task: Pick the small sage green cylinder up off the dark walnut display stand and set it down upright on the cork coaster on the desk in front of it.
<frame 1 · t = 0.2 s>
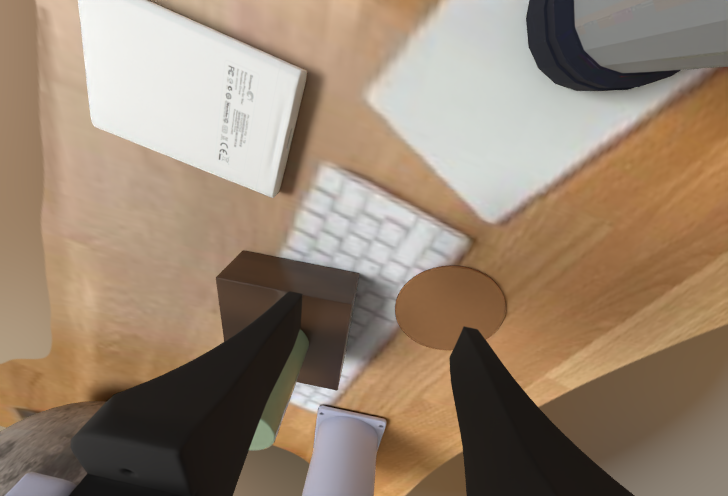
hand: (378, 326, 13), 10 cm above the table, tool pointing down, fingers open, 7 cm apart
stand: (298, 306, 26), on the table
hard drive: (204, 100, 19), on the table
sage green cylinder: (282, 339, 23), point 4 cm above the table, touching stand
moon model: (132, 413, 40), on the table
coaster: (448, 310, 24), on the table
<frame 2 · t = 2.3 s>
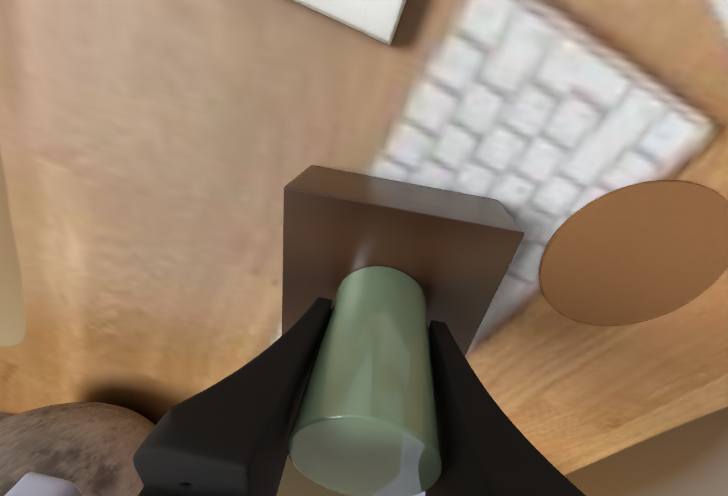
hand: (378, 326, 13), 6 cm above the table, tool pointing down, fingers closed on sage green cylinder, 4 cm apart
stand: (385, 260, 18), on the table
sage green cylinder: (380, 302, 14), point 4 cm above the table, touching gripper, stand
moon model: (134, 417, 31), on the table
coaster: (628, 261, 16), on the table
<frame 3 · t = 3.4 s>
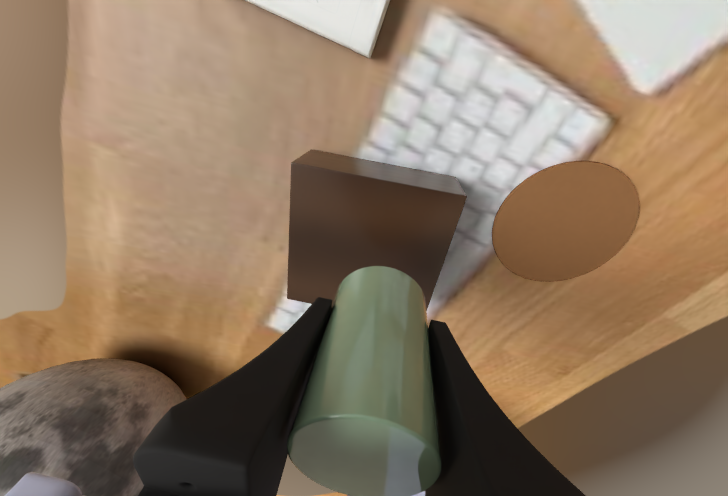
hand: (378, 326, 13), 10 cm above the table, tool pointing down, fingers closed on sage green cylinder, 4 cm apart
stand: (370, 228, 22), on the table
sage green cylinder: (379, 302, 14), point 9 cm above the table, touching gripper
moon model: (154, 377, 36), on the table
coaster: (560, 226, 20), on the table
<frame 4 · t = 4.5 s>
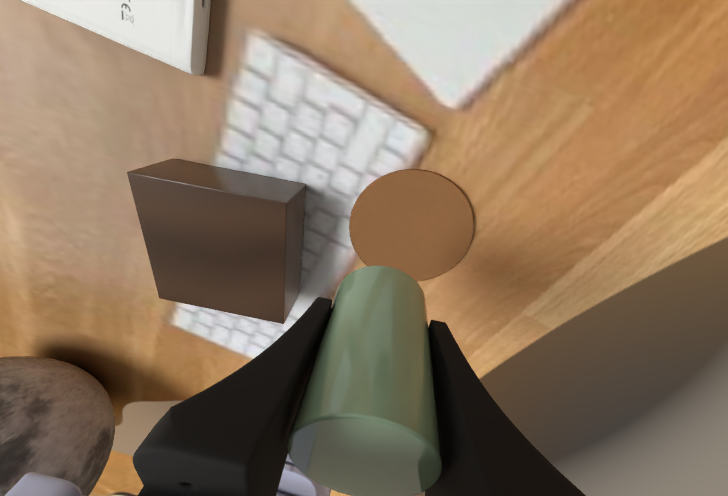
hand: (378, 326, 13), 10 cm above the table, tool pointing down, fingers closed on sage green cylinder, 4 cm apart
stand: (242, 232, 23), on the table
sage green cylinder: (380, 302, 14), point 9 cm above the table, touching gripper
moon model: (81, 375, 37), on the table
coaster: (409, 229, 21), on the table
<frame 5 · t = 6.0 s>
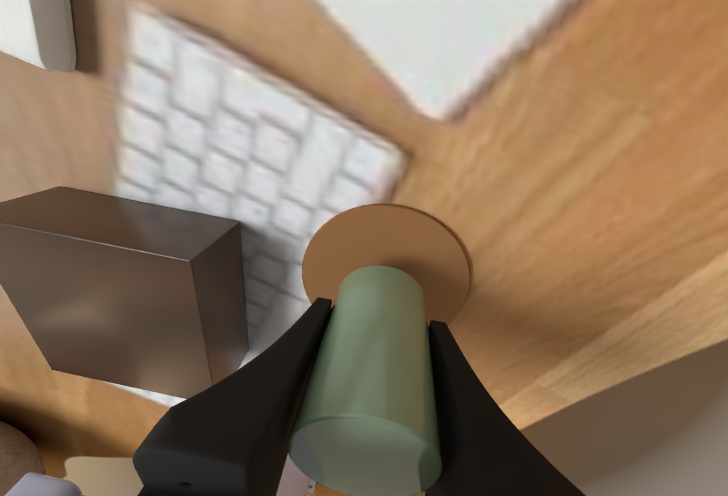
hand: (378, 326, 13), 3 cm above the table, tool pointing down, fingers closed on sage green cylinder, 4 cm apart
stand: (166, 279, 18), on the table
sage green cylinder: (380, 302, 14), point 2 cm above the table, touching gripper
moon model: (11, 427, 31), on the table
coaster: (383, 281, 16), on the table
when the fingers open (2 cm above the table, at t = 7.0 s): sage green cylinder stays where it is, resting on coaster.
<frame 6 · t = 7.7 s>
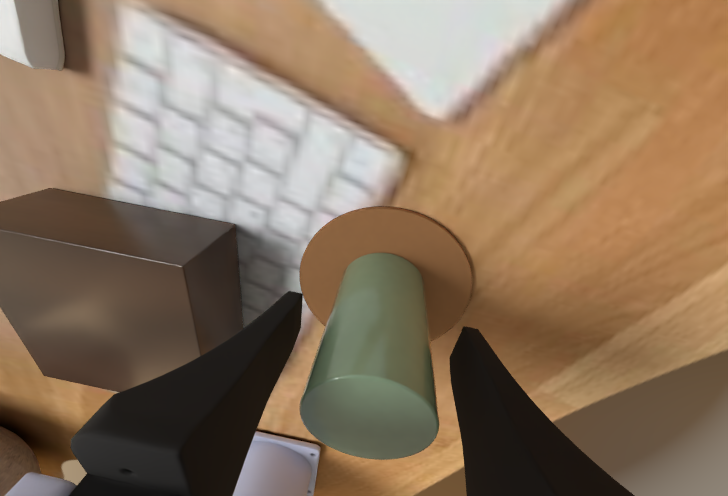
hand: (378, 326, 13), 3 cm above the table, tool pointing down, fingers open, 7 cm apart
stand: (161, 282, 17), on the table
sage green cylinder: (382, 288, 15), resting on coaster
moon model: (7, 430, 31), on the table
coaster: (383, 285, 15), on the table
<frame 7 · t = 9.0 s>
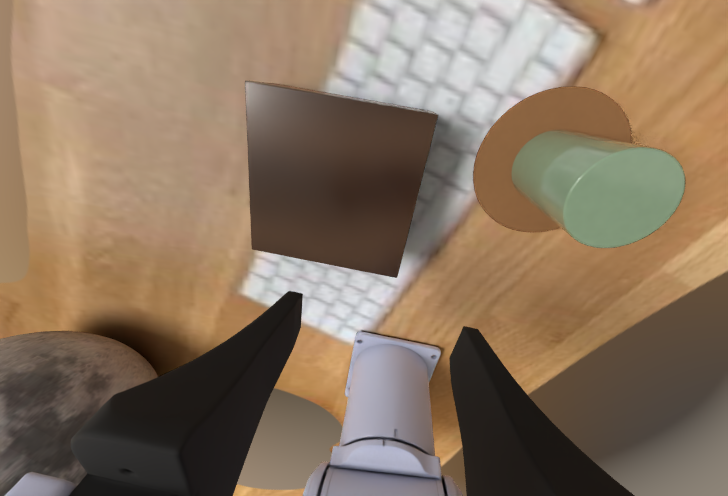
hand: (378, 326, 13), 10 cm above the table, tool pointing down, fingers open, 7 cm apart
stand: (343, 175, 20), on the table
sage green cylinder: (548, 166, 18), resting on coaster
moon model: (127, 357, 34), on the table
coaster: (546, 166, 18), on the table
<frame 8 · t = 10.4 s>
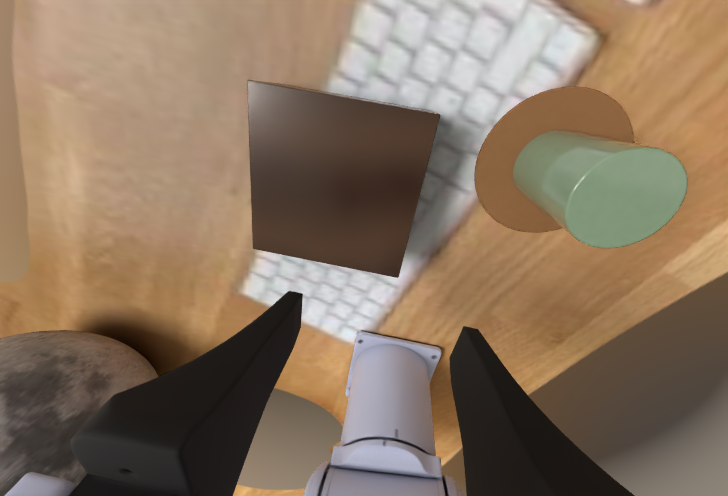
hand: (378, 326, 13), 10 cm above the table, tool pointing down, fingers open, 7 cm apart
stand: (344, 175, 20), on the table
sage green cylinder: (549, 167, 18), resting on coaster
moon model: (127, 356, 34), on the table
coaster: (547, 167, 18), on the table
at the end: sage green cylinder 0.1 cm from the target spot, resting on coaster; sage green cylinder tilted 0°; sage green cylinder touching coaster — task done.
